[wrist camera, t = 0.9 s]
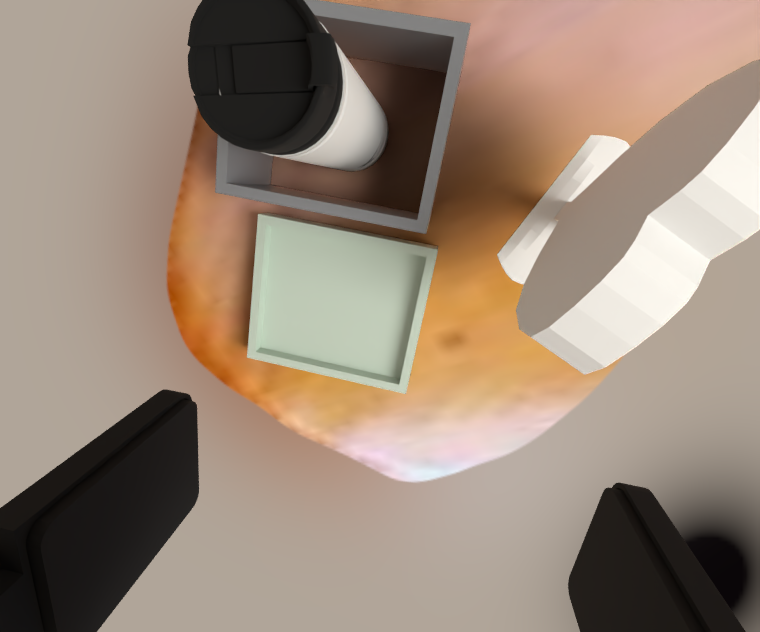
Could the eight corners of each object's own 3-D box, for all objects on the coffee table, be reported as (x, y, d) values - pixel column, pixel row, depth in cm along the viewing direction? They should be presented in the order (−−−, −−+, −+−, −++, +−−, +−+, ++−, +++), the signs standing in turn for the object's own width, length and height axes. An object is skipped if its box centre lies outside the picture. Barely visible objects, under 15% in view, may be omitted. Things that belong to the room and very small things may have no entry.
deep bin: (273, 33, 33) (224, -15, 25) (463, 63, 31) (470, 23, 24) (261, 192, 37) (215, 192, 29) (429, 224, 35) (426, 234, 28)
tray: (268, 212, 37) (258, 213, 35) (438, 246, 36) (438, 249, 34) (256, 349, 42) (247, 357, 40) (407, 383, 40) (405, 393, 38)
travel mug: (392, 171, 35) (335, 150, 16) (318, 171, 35) (179, 150, 17) (393, 90, 33) (331, -46, 14) (315, 92, 34) (156, -34, 15)
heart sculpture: (527, 304, 36) (605, 404, 19) (482, 272, 36) (521, 346, 19) (660, 149, 31) (922, 100, 14) (609, 111, 31) (815, 15, 14)
